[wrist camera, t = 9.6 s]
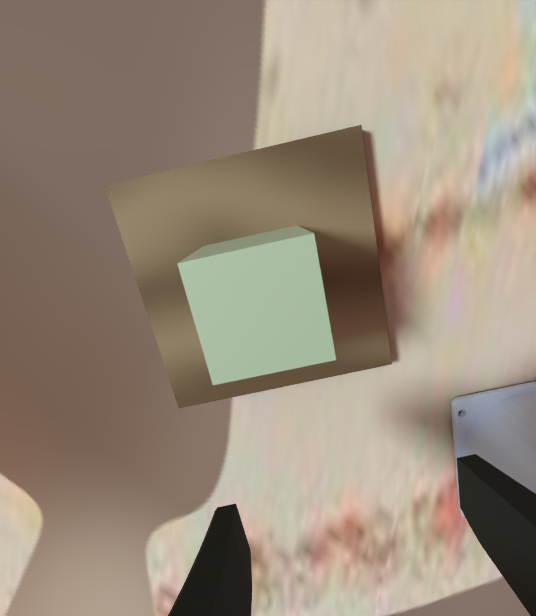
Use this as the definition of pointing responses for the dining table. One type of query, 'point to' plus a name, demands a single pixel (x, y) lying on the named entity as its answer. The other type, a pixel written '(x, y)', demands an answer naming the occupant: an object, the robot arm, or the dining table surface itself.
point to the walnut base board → (249, 221)
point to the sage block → (259, 304)
